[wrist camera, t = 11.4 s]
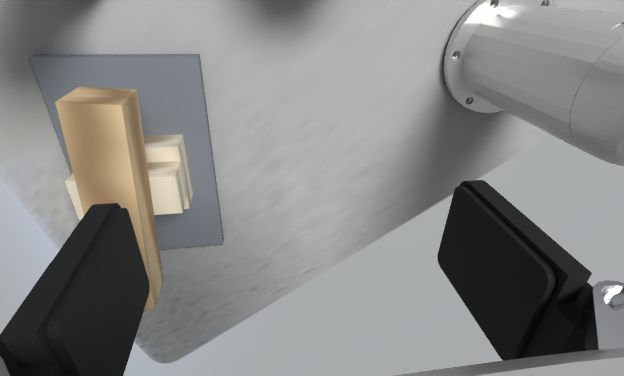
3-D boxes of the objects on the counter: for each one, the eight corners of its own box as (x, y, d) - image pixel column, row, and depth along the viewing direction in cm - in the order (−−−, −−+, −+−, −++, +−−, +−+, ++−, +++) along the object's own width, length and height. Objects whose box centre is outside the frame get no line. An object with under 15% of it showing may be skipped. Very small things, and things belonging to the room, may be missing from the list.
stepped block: (182, 134, 36) (172, 160, 31) (193, 193, 39) (185, 225, 34) (86, 138, 34) (58, 165, 29) (106, 198, 38) (84, 233, 33)
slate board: (199, 54, 33) (198, 56, 32) (223, 238, 44) (223, 244, 43) (35, 54, 31) (28, 57, 30) (104, 247, 42) (100, 254, 41)
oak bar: (136, 89, 27) (121, 105, 24) (162, 280, 37) (154, 310, 34) (79, 86, 26) (55, 102, 23) (121, 281, 36) (108, 312, 33)
